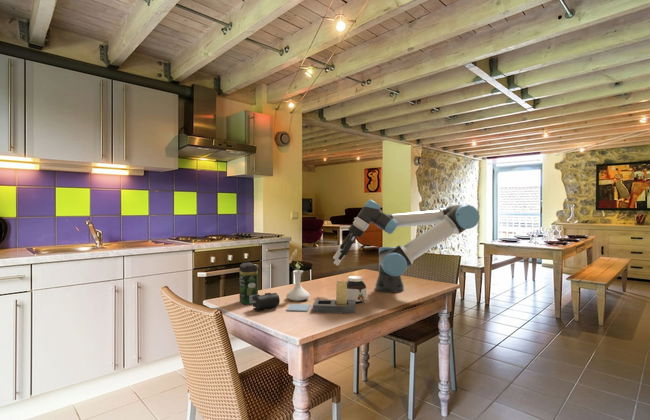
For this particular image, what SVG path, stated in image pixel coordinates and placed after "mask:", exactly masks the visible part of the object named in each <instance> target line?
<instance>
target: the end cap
mask: <svg viewBox="0 0 650 420" xmlns="http://www.w3.org/2000/svg"><path fill="white" fill-rule="evenodd" d="M253 300H254V301H256V303H253V304H252V307H253V308H252V311H255V312H257V313H258V312H263V311H268V310H272V309H276V308H277V307H278V306H280V302H281V301H280V295H279V294H278V293H277V292H274V293H273V292H272V293H271V292H266V293H264V294H261V295H260V294H258V295H254V296H253Z"/></svg>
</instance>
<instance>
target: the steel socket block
mask: <svg viewBox="0 0 650 420" xmlns="http://www.w3.org/2000/svg"><path fill="white" fill-rule="evenodd" d="M356 307H357V306H356V300H347V305H336V299H328V298H327V299H324V298H321V299H320V298H316V299H314V302H313V303H312V313H323V314H325V313H326V314H349V315H350V314H352V315H353V314H354V315H355V314H356V309H357V308H356Z"/></svg>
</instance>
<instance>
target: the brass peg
mask: <svg viewBox="0 0 650 420" xmlns="http://www.w3.org/2000/svg"><path fill="white" fill-rule="evenodd" d="M347 282H348V280H347V281H345V280H343V281H341V280H338V281H337V280H336V283H335V284H336V285H335V287H336V288H335V289H336V291H335V292H336V293H335V294H336V295H335V296H336V299H335V300H336V305H347Z"/></svg>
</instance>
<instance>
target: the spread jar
mask: <svg viewBox="0 0 650 420" xmlns="http://www.w3.org/2000/svg"><path fill="white" fill-rule="evenodd" d="M363 279H364V278H363V276H360V275H350V276H348V277H347V300H356V304H357V305H358V304H361V303H364V302H365V301H366V300H367V286H366V283H365V282H364V281H363Z"/></svg>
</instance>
